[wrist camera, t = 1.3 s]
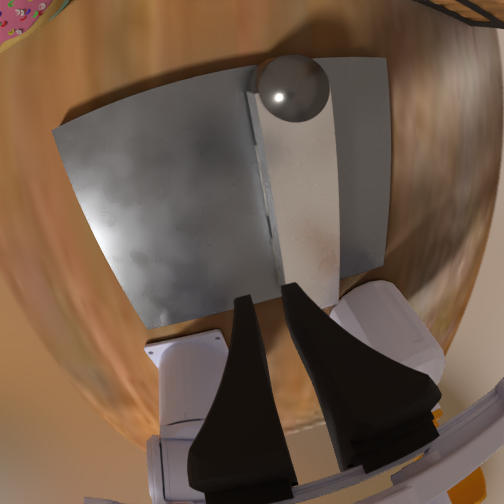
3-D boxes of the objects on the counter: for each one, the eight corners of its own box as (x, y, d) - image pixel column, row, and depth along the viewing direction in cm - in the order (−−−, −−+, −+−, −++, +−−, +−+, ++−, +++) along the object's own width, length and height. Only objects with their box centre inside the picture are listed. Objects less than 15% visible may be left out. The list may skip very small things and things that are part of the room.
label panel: (377, 258, 26) (384, 267, 25) (148, 319, 25) (147, 332, 24) (376, 57, 16) (388, 57, 15) (58, 126, 15) (49, 131, 14)
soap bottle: (375, 263, 27) (515, 487, 7) (407, 298, 31) (512, 468, 11) (308, 322, 30) (401, 548, 10) (351, 345, 34) (431, 517, 14)
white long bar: (326, 282, 25) (340, 307, 22) (281, 295, 24) (291, 321, 22) (306, 54, 14) (328, 52, 12) (240, 62, 14) (250, 59, 11)
